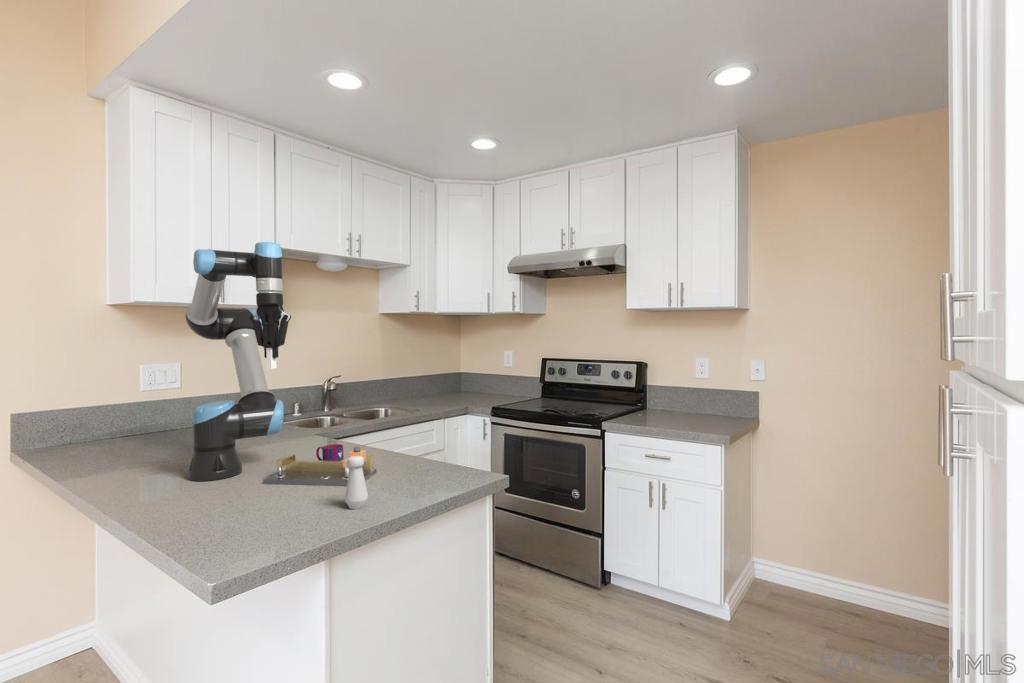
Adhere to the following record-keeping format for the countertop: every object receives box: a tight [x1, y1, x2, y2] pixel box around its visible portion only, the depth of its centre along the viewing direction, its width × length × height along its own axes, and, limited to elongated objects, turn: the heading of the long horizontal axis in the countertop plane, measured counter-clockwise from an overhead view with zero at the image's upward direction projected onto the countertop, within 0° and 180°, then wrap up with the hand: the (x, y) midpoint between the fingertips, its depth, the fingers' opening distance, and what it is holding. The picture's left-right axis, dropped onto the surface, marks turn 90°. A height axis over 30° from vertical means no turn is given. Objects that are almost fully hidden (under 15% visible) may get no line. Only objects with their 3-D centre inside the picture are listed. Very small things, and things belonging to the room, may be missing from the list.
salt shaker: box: [344, 456, 369, 510], centre depth 133 cm, size 6×6×13 cm
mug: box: [315, 443, 345, 461], centre depth 174 cm, size 7×10×7 cm
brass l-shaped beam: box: [275, 454, 375, 476], centre depth 160 cm, size 29×9×5 cm, turn 82°
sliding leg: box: [343, 446, 367, 477], centre depth 159 cm, size 4×10×7 cm, turn 172°
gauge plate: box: [262, 468, 377, 487], centre depth 159 cm, size 30×14×1 cm, turn 82°
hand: (271, 368), depth 160 cm, fingers closed
